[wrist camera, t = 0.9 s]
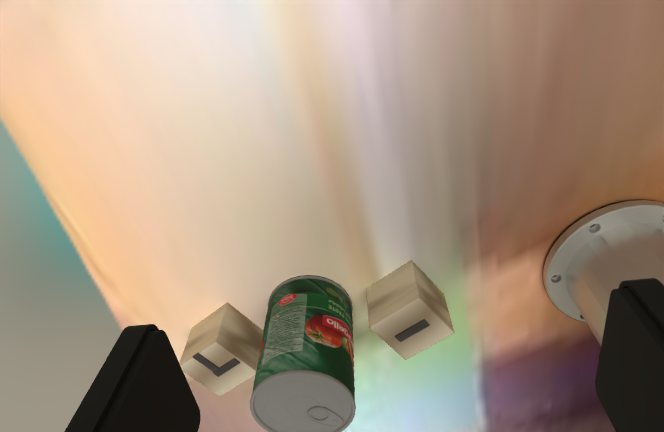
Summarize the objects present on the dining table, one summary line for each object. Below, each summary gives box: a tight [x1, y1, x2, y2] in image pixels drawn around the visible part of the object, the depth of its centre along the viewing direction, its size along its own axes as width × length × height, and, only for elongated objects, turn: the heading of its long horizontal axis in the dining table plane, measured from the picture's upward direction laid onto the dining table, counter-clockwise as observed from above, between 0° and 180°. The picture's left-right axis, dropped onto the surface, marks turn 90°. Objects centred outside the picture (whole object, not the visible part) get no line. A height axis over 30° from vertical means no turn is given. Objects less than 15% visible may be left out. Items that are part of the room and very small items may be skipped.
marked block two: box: [179, 303, 264, 396], centre depth 45 cm, size 5×5×5 cm
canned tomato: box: [250, 275, 356, 432], centre depth 41 cm, size 8×8×11 cm
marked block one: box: [367, 260, 454, 360], centre depth 42 cm, size 5×5×5 cm
